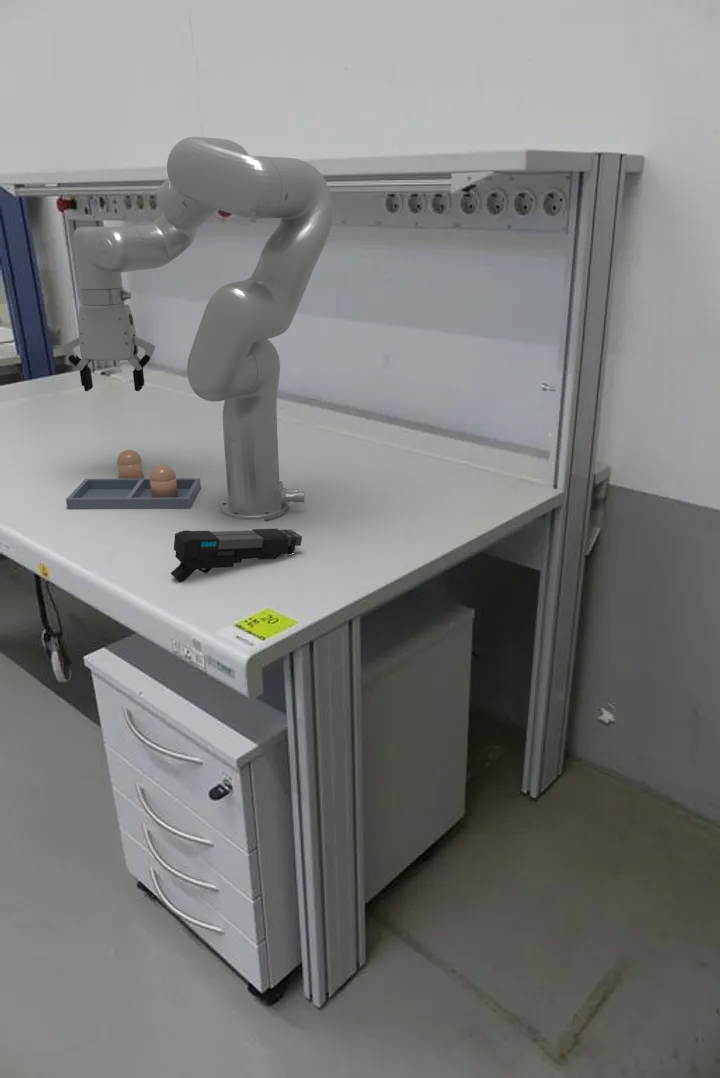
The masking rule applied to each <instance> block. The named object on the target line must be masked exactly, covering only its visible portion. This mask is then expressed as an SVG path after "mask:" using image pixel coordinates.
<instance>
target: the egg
mask: <svg viewBox="0 0 720 1078" xmlns="http://www.w3.org/2000/svg"><path fill="white" fill-rule="evenodd" d="M116 464H117V473H118V479H137V478H145V477H144V476H145V475H144V471H143V469H144V467H143V461H142V457H141V455H140V454H139V453H138V452H137V451H136V450H133V449H125V450H122V452H120V453H119V454H118V457H117V460H116Z"/></svg>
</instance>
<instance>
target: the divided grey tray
mask: <svg viewBox="0 0 720 1078" xmlns="http://www.w3.org/2000/svg"><path fill="white" fill-rule="evenodd" d="M176 483H177V493H178V497H154V498H152V494H151V485H150V477H149V478H146V477H143V478H137V479H119V478H84V479H83V480H82V481H81V483H80V484H79V485H78V486H77V487H76V488H75V489H74V491H72V492H71V493H70V495H69V496H67V498H66V499H65V502H66V509H67V510H183V509H184V510H190V509H191V508H192V506H193V504H194V502H195V500H196V498H197V496H198V494H199V492H200V490H201V488H202V485H201V478H200V477H199V478H198V477H194V478H191V477H189V478H188V477H185V478H183V477H180V478H178V477H176Z"/></svg>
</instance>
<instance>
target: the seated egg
mask: <svg viewBox="0 0 720 1078" xmlns="http://www.w3.org/2000/svg"><path fill="white" fill-rule="evenodd" d="M149 478H150V485H151V494H152V498H154V497H178V493H177V483H176V478H177V475H176V472H175V471H174V469H173V468H172V467H170V466H169V465H166V464H160V465H159V464H158V465H157V466H155V467H154V468H153V469H152V470H151V471H150V475H149Z"/></svg>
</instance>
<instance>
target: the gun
mask: <svg viewBox="0 0 720 1078" xmlns="http://www.w3.org/2000/svg"><path fill="white" fill-rule="evenodd" d="M302 539H303V536H302V535H300V534H299V533H298V532H297V531H294V530H293V529H279V528H254V529H252V530H224V531H223V530H221V531H220V530H219V531H217V530H216V531H210V530H188V529H187V530H182V531H181V530H180V531H179V532H175V533H174V542H173V550H174V551H175V555H174V556H175V558H176V559H177V560H178V561H179V562H180V563H179V565H178V566H176V567H175V568H174V569H173V570H172V571H171V572H170V574H171V576H172V577H174V579H175V580H176V581H177V582H178V583H184V582H185V581H186V580H187V579H188V578H189V577H190V576H191V575H192V574H193V573H195V572H196V570H198V571H199V572H201V573H204V574H209V572H210V571H211V570H213V569H223V568H224V569H225V568H234V567H235V564H242V563H243V560H256V559H257V560H274V559H278V558H279V557H280V556H282V555H287V554H292V553H294V552H295V549H296V547H300V546H301V547H302V541H303V540H302ZM294 554H295V553H294Z"/></svg>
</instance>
